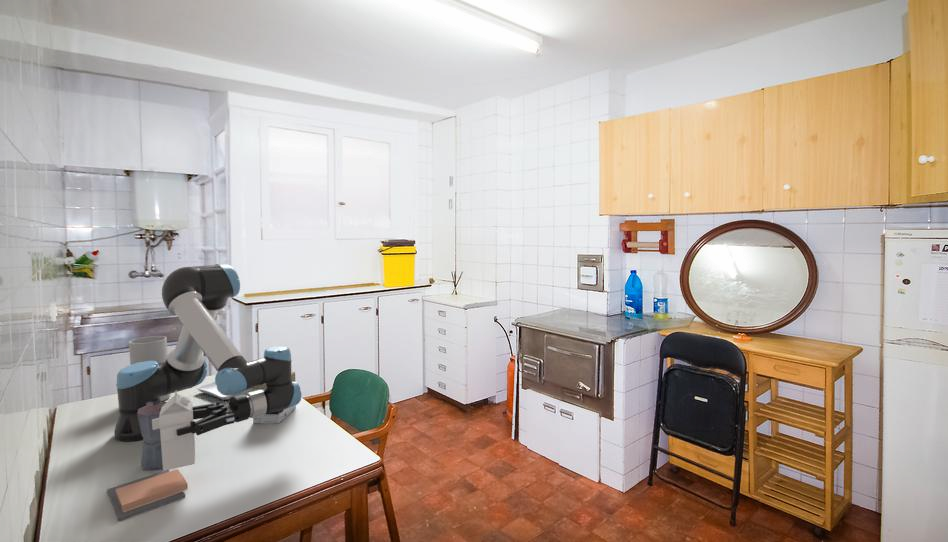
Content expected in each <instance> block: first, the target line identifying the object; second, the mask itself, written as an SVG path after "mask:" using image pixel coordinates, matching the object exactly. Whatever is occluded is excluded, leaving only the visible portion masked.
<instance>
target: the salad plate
mask: <svg viewBox="0 0 948 542" xmlns="http://www.w3.org/2000/svg"><path fill="white" fill-rule="evenodd" d="M196 390H198V391H199V392H201V393H204V394H207V395H210V396H213V397H215V398H217V399H220V400H222V401H228V400H230V399H231V397H233V396H237V395H241V394H246V393H248V392H252V388H250V389H248V390H245V391H243V392H241V393H237V394H233V395H228V396H226V395H223V394H221V393H220V392H219V391H218V389H217V385H216V384H215V381H213V382H210V383H206V384H203V385H200V386H196Z"/></svg>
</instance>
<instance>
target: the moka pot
mask: <svg viewBox="0 0 948 542" xmlns="http://www.w3.org/2000/svg"><path fill="white" fill-rule="evenodd" d="M158 401H159V399H154V400H152V402H149V401H148V400H145V403H144V407H142V408H140V409H138V413H137V416H138V421H139V425H140V430H141V434H142V437H143V439H142V440H143V443H142V453H141V461H140V467H141V468H142V469H144V470H145V471H155V470H160V469H163V463H162V449H161V436H160V428H159V429H155V430H153V428H152V419H156V418H159V415H160V411H161V408H162V406H163V405H164V404H166V403H167V402H168V401H162V402H159V403H158Z"/></svg>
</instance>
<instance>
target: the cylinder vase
mask: <svg viewBox="0 0 948 542" xmlns="http://www.w3.org/2000/svg"><path fill="white" fill-rule="evenodd" d="M167 340H168V339H167V336H165V335H164V336H163V335H153V336H144V337H139V338H135V339H131V340H129V341H128V348H129V351H128V353H129V361H130V362H129V363H130V365H132V364H135V363H139V362H144V361H156V362H157V363H161V362H165V361H166V359H167V356H168V354H169V353H168V341H167ZM171 394H172V393H171ZM171 394H168V395H165V396H161V397H160V399H161V402H165V401H167V400H169V398H170V397H171Z"/></svg>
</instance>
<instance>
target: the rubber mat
mask: <svg viewBox="0 0 948 542" xmlns="http://www.w3.org/2000/svg"><path fill="white" fill-rule="evenodd" d="M170 471H171V470H170V469H169V470H164V471H163V470H162V471H160V472H156V473H153V474H150V475H146V476H144V477H141V478H138V479H133V480H132V481H129V482H126V483H122V484H119V485H116V486H113V487H109V488H107V489H106V490H108V491H107V494H108V493H109V494H108V497H109V496H110V497H109V499H110V498H111V499H110V502H111V501H112V502H111V504H112V507H113V509H115V510H114V512H115V515H116V517H118V518H117V520H118V522H120V521H123V520H126V519H129V518H131V517H134V516H136V515H140V514H143V513H145V512H148V511H150V510H153V509H157V508H159V507H161V506H165V505H167V504H170V503H173V502H176V501H178V500H181V499H183V498H186V493H185V491H183V492H180V493H177V494H174V495H172V496H169V497H166V498H163V499H160V500H157V501H155V502H152V503H149V504H146V505H143V506H140V507H138V508H135V509H132V510H129V511H126V512H123V511H122V509H121V506H120V504H119V501H118V499H117V497H116V490H115V489H118V488H121V487H124V486H127V485H130V484H133V483H136V482H139V481H142V480H146V479H149V478H152V477H155V476H158V475H161V474H164V473H167V472H170Z"/></svg>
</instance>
